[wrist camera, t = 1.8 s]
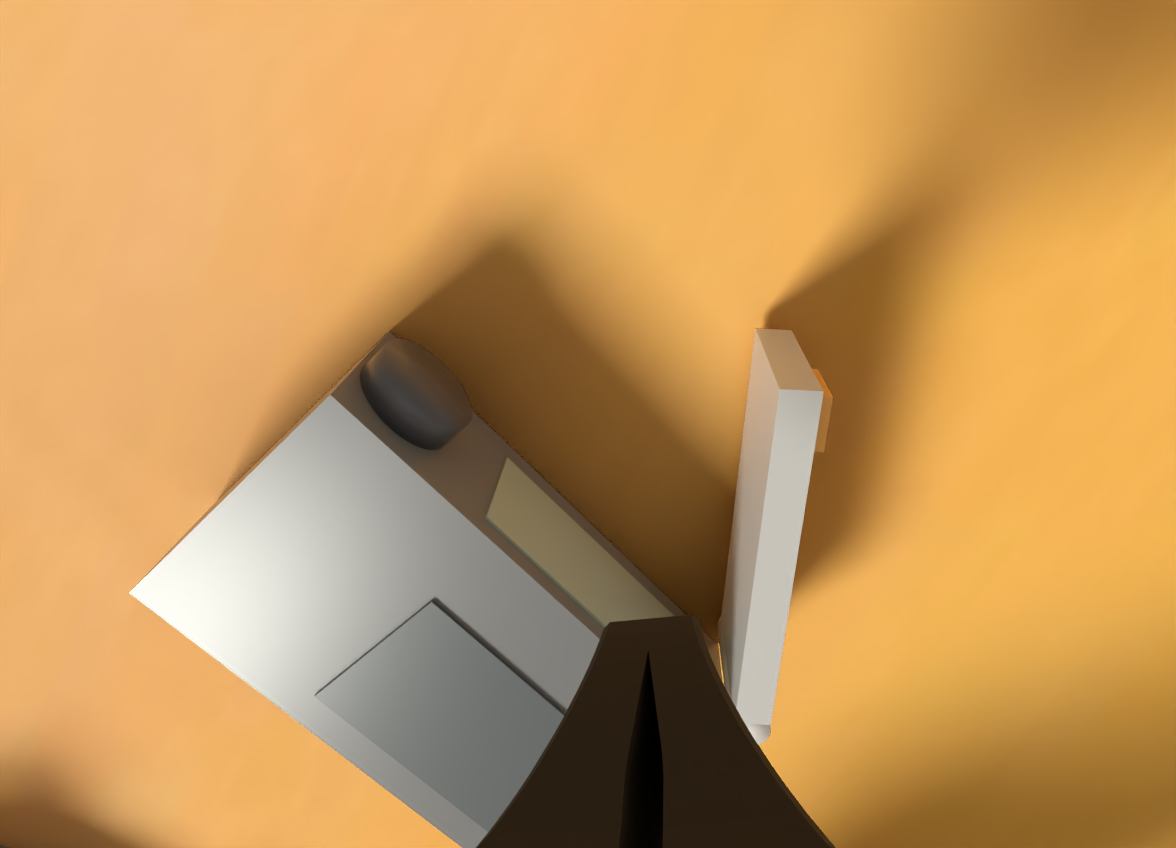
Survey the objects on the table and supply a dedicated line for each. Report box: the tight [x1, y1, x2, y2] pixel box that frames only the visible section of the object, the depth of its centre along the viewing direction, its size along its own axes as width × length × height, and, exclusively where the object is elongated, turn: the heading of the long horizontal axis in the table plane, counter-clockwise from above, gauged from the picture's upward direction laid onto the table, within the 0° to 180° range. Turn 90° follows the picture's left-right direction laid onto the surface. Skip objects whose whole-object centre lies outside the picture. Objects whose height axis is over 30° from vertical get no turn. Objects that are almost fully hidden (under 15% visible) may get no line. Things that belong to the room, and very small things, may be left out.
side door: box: [717, 328, 833, 745], centre depth 19 cm, size 9×1×4 cm, turn 178°
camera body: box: [129, 331, 722, 848], centre depth 20 cm, size 12×8×4 cm, turn 43°
